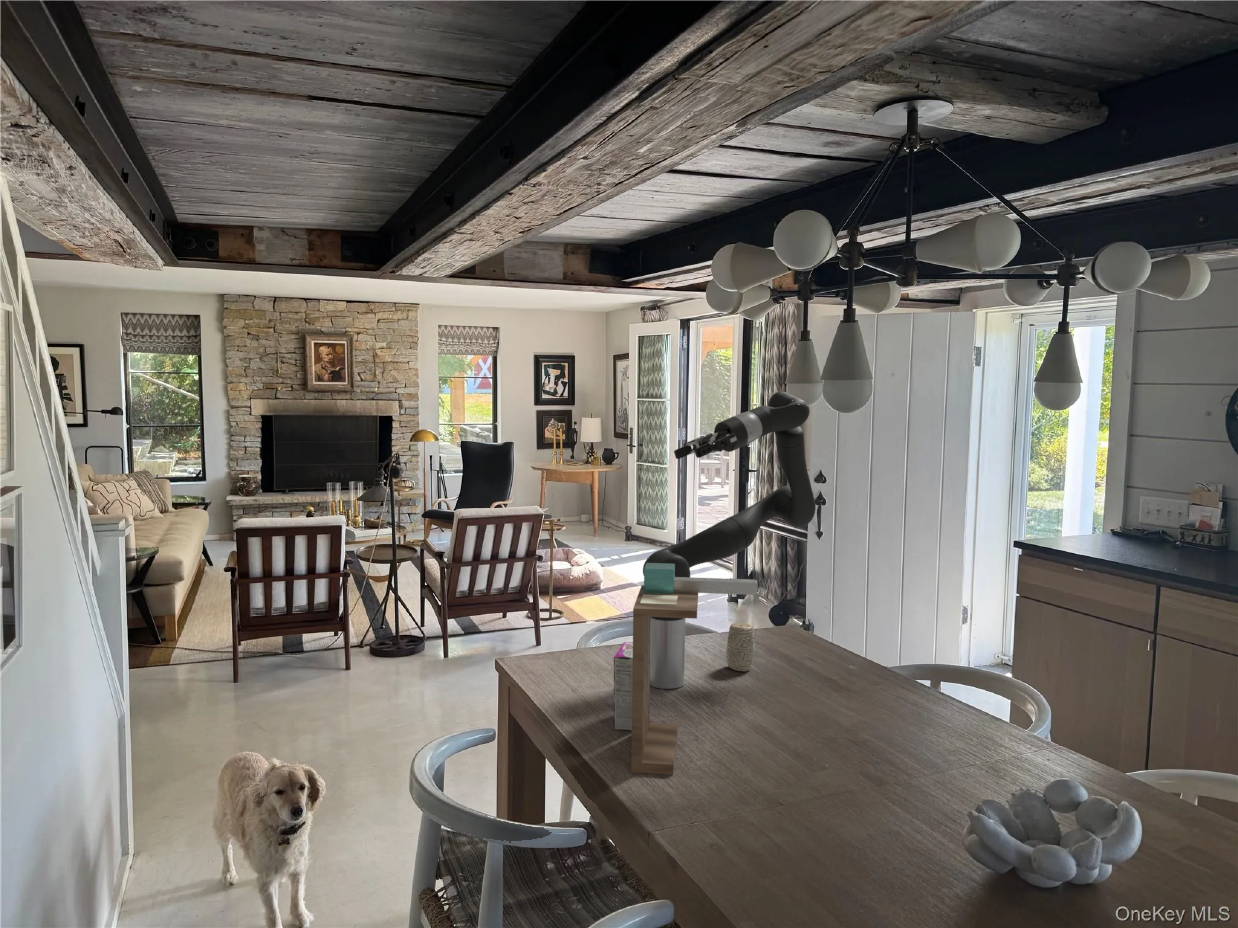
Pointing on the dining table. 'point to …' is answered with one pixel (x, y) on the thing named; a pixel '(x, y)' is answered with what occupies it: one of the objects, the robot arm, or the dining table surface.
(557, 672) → the dining table surface
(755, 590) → the grey and teal bar
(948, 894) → the dining table surface
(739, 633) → the carving
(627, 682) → the candy bar box
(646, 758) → the bracket shelf
